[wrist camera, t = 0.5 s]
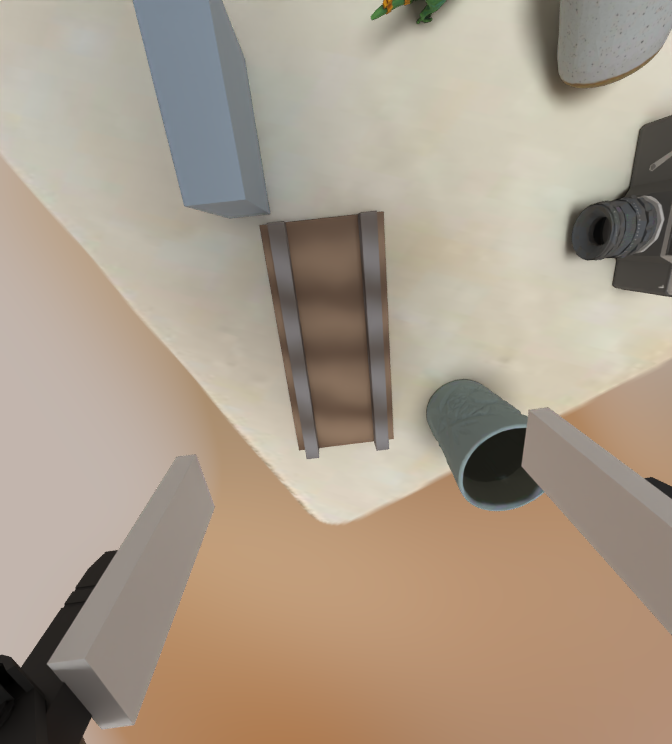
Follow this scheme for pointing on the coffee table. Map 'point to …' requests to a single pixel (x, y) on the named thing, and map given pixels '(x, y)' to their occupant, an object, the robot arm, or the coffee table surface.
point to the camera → (636, 219)
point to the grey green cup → (482, 445)
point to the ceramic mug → (609, 38)
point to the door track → (333, 327)
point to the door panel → (205, 105)
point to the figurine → (390, 3)
